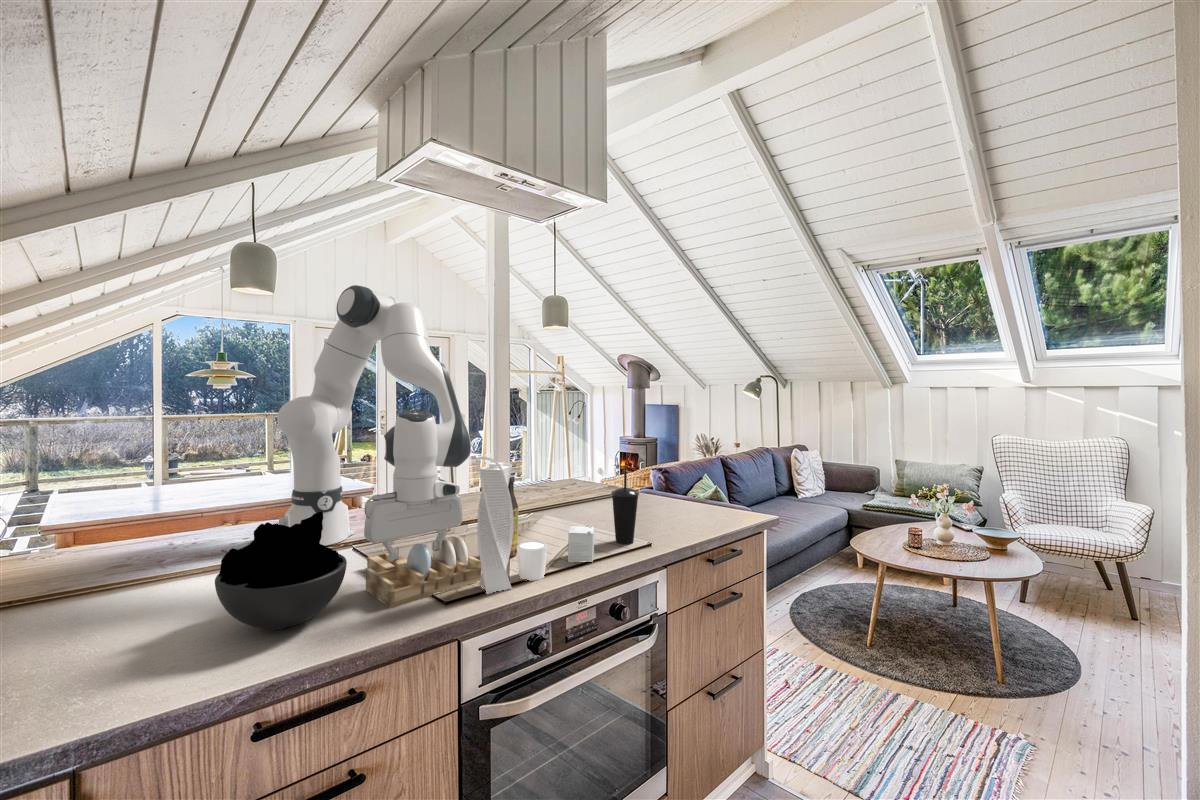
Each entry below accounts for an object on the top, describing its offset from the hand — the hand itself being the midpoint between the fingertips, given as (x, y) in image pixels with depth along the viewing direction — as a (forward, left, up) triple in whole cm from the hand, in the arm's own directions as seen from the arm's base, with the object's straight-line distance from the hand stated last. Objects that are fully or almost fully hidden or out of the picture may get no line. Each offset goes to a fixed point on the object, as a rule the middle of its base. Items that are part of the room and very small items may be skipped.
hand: (415, 554), depth 111 cm
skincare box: (+10, +38, -7) cm, 40 cm away
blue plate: (-1, 0, -6) cm, 6 cm away
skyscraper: (+11, +12, -7) cm, 18 cm away
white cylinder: (+11, +22, -7) cm, 26 cm away
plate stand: (-13, 0, -7) cm, 15 cm away
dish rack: (0, +2, -7) cm, 7 cm away
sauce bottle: (-5, +26, -7) cm, 27 cm away
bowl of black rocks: (-1, -24, -7) cm, 25 cm away
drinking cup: (+8, +56, -7) cm, 57 cm away
